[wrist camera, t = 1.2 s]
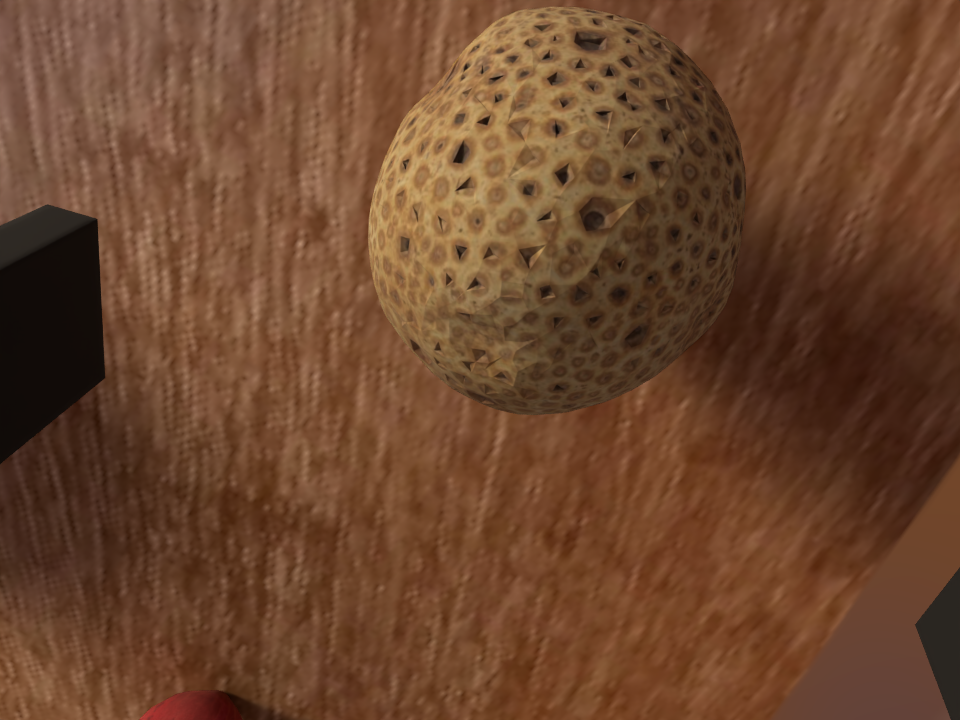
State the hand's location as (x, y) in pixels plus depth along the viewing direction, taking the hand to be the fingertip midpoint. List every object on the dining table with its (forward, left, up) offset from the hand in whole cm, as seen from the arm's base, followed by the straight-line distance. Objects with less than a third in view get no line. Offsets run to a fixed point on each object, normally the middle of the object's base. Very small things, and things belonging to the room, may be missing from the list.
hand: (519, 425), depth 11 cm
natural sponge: (0, 0, -14) cm, 14 cm away
